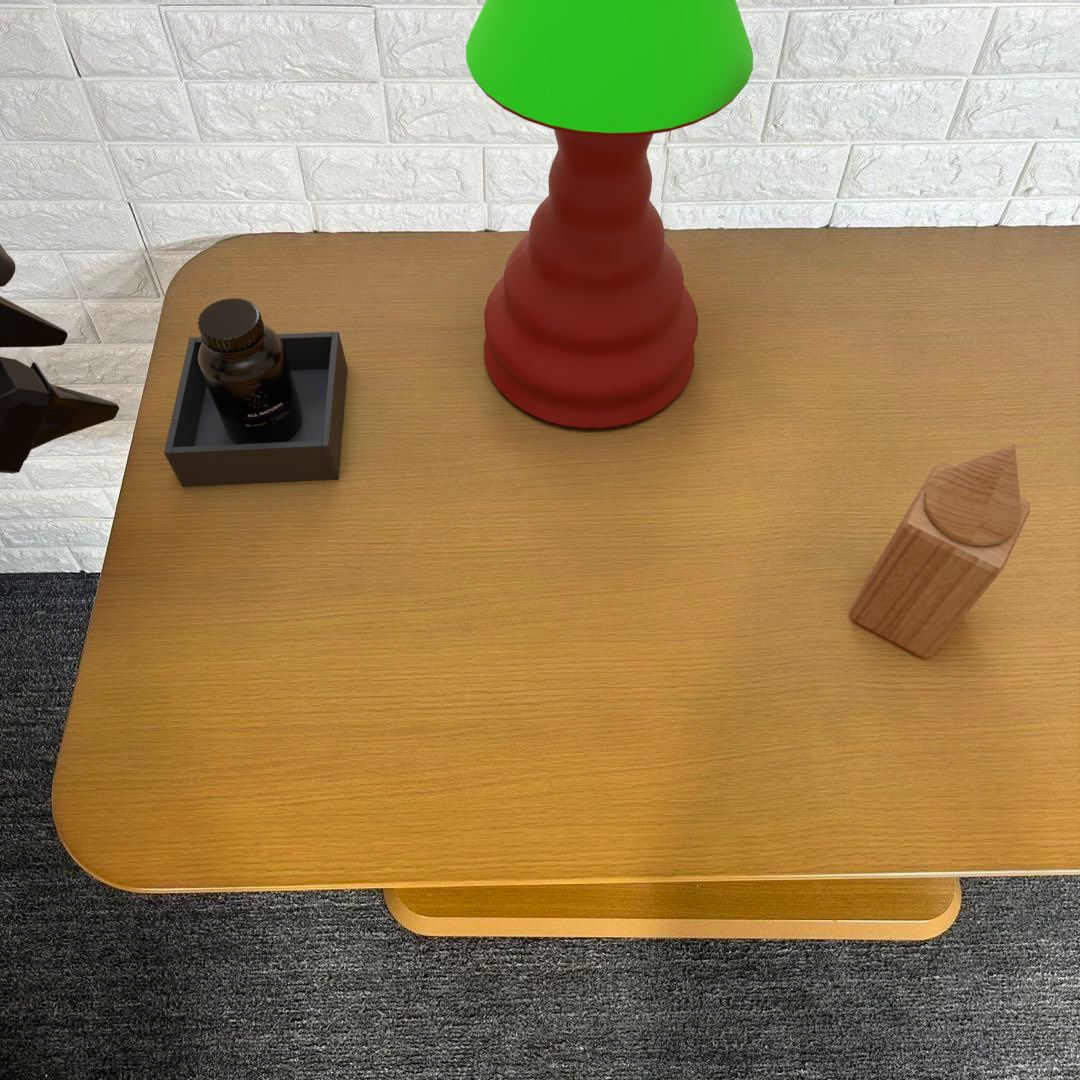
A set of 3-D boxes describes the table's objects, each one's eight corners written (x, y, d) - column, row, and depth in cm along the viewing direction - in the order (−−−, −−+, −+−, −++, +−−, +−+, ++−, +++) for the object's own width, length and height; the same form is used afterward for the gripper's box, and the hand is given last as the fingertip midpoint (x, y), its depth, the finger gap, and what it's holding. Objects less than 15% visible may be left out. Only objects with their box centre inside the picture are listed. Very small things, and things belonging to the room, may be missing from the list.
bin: (182, 486, 76) (163, 453, 72) (204, 373, 83) (189, 337, 80) (338, 479, 77) (328, 445, 73) (347, 367, 84) (338, 331, 80)
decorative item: (878, 560, 72) (980, 386, 56) (958, 600, 70) (1089, 433, 54) (844, 619, 69) (942, 455, 52) (927, 664, 67) (1056, 508, 50)
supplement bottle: (275, 461, 77) (237, 360, 67) (210, 435, 79) (163, 333, 69) (319, 407, 80) (289, 303, 70) (256, 383, 82) (217, 278, 72)
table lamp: (491, 279, 91) (459, -325, 53) (687, 285, 90) (795, -320, 53) (476, 429, 80) (423, -200, 42) (700, 436, 79) (847, -192, 42)
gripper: (-77, 292, 45) (196, 354, 58) (-178, 122, 53) (81, 211, 66) (-142, 466, 49) (127, 488, 62) (-227, 283, 57) (27, 337, 70)
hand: (90, 373), depth 65 cm, fingers open, 9 cm apart
